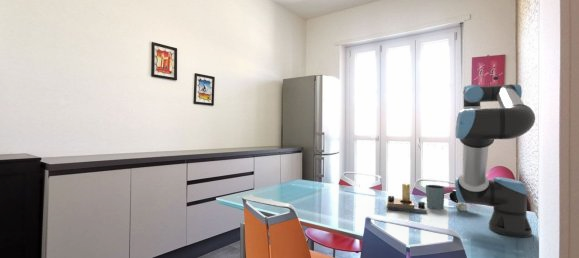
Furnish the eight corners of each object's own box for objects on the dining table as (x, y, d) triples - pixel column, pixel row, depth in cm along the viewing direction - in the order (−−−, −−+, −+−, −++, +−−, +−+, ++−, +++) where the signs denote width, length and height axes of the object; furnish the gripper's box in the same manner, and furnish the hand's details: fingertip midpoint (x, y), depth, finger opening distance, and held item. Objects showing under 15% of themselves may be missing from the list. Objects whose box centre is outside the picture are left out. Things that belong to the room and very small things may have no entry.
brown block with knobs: (426, 213, 151) (426, 201, 150) (387, 210, 158) (387, 198, 157) (424, 207, 162) (424, 196, 162) (387, 204, 169) (387, 193, 169)
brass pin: (410, 210, 157) (410, 185, 157) (402, 209, 158) (402, 184, 158) (409, 208, 161) (409, 183, 161) (402, 207, 162) (402, 183, 162)
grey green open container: (433, 210, 157) (433, 188, 157) (421, 205, 167) (421, 185, 167) (449, 208, 160) (449, 187, 160) (435, 203, 170) (435, 184, 169)
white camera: (474, 211, 155) (474, 189, 155) (454, 211, 154) (454, 190, 154) (467, 208, 160) (467, 187, 160) (448, 208, 159) (448, 187, 159)
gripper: (458, 115, 160) (458, 152, 160) (469, 114, 137) (469, 157, 137) (473, 115, 157) (473, 153, 158) (487, 113, 134) (487, 158, 134)
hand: (471, 155), depth 147 cm, fingers open, 13 cm apart
